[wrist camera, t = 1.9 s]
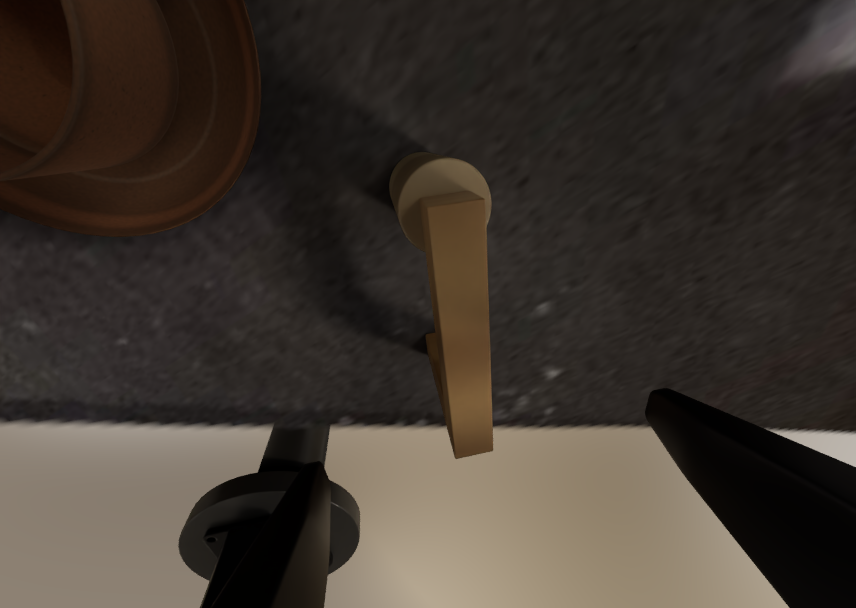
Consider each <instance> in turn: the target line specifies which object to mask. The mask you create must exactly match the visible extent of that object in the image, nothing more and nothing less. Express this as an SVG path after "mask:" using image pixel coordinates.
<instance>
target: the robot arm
mask: <svg viewBox="0 0 856 608" xmlns="http://www.w3.org/2000/svg"><path fill="white" fill-rule="evenodd" d="M645 416H646V419H647V421H648V422H649V424H650V425H651V427H652V428H653V430H654V431H655V433H656V434H657V436H658V437H659V439H660V440H661V442H662V443H663V445H664V446H665V448H666V449H667V451H668V452H669V454H670V455H671V457H672V458H673V460H674V461H675V463H676V464H677V466H678V467H679V469H680V470H681V472H682V473H683V474H684V475H685V477H686V478H687V480H688V481H689V482H690V483H691V485H692V486H693V487H694V488H695V490H696V491H697V492H698V494H699V495H700V496H701V497H702V499H703V500H704V501H705V502H706V503H707V505H708V506H709V507H710V508H711V510H712V511H713V512H714V514H715V515H716V516H717V517H718V519H719V520H720V521H721V522H722V524H723V525H724V526H725V527H726V529H727V530H728V531H729V532H730V534H731V535H732V536H733V537H734V539H735V540H736V541H737V542H738V544H739V545H740V546H741V547H742V549H743V550H744V551H745V552H746V554H747V555H748V556H749V557H750V559H751V560H752V561H753V562H754V564H755V565H756V566H757V568H758V569H759V570H760V571H761V573H762V574H763V575H764V576H765V578H766V579H767V580H768V581H769V583H770V584H771V585H772V586H773V588H774V589H775V590H776V591H777V592H778V594H779V595H780V596H781V598H782V599H783V600H784V601H785V602H786V604H787V605H788V606H789V608H856V467H853V466H851V465H849V464H846V463H844V462H842V461H839V460H837V459H835V458H832V457H830V456H827V455H825V454H823V453H820V452H818V451H815V450H813V449H811V448H809V447H806V446H804V445H802V444H799V443H797V442H794V441H792V440H790V439H787V438H785V437H783V436H780V435H778V434H775V433H773V432H771V431H768V430H766V429H764V428H761V427H759V426H757V425H754V424H752V423H749V422H747V421H745V420H742V419H740V418H738V417H735V416H733V415H730V414H728V413H726V412H723V411H721V410H719V409H716V408H714V407H711V406H709V405H707V404H704V403H702V402H700V401H697V400H695V399H693V398H690V397H688V396H685V395H683V394H681V393H678V392H676V391H674V390H671V389H668V388H663V389H658V390H654V391H652V392H651V393H650V395H649V399H648V402H647V406H646V410H645ZM330 502H331V487H330V481H329V479H328V476H327V474H326V471H325V469H324V466H323V464H322V463H321V462H320V461H317V462H313V463H308V464H305V465H304V466H303V467H302V468H301V470H300V471H299V473H298V474H297V476H296V477H295V479H294V480H293V482H292V483H291V485H290V486H289V488H288V490H287V491H286V493H285V494H284V496H283V497H282V499H281V500H280V502H279V503H278V505H277V506H276V508H275V509H274V511H273V513H272V514H271V515H269V516H265V517H260V518H256V519H251V520H247V521H242V522H238V523H233V524H229V525H224V526H220V527H215V528H211V529H208V530H207V531H206V532H205V535H204V537H203V542H204V544H205V545H206V546H207V547H208V548H209V550H210V551H211V552H212V553H213V555H214V556H215V557H216V558H217V563H216V565H215V568H214V571H213V574H212V576H211V579H210V582H209V584H208V588H207V590H206V593H205V595H204V598H203V601H202V604H201V606H200V608H324V602H325V593H326V584H327V576H328V567H330V566H331V565H332V564H333V555H332V553H331V551H330Z"/></svg>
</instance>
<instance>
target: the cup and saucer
mask: <svg viewBox="0 0 856 608" xmlns="http://www.w3.org/2000/svg"><path fill="white" fill-rule="evenodd" d="M260 110H261V74H260V66H259V58H258V51H257V47H256V42H255V37H254V33H253V29H252V25H251V22H250V18H249V15H248V11H247V8H246V5H245V2H244V0H0V209H1V210H4V211H6V212H9V213H11V214H14V215H16V216H19V217H21V218H24V219H27V220H30V221H33V222H36V223H39V224H42V225H45V226H49V227H53V228H56V229H60V230H64V231H69V232H75V233H80V234H87V235H96V236H111V237H126V236H140V235H146V234H153V233H157V232H161V231H165V230H169V229H172V228H175V227H177V226H180V225H183V224H185V223H187V222H189V221H191V220H193V219H195V218H197V217H198V216H200V215H201V214H203V213H204V212H206V211H207V210H209V209H210V208H211V207H213V206H214V205H215V204H216V203H217V202H218V201H220V200H221V199H222V198H223V197H224V195H225V194H226V193H227V192H228V191H229V190H230V189H231V188H232V186H233V185H234V183H235V182H236V180H237V179H238V177H239V176H240V174H241V173H242V171H243V169H244V167H245V165H246V163H247V161H248V159H249V156H250V154H251V151H252V148H253V146H254V142H255V138H256V134H257V131H258V125H259V118H260Z"/></svg>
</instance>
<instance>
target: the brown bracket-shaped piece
mask: <svg viewBox="0 0 856 608" xmlns="http://www.w3.org/2000/svg"><path fill="white" fill-rule="evenodd" d="M389 190H390V196H391V199H392V202H393V205H394V208H395V211H396V214H397V217H398V220H399V223H400V226H401V228H402V230H403V232H404V234H405V236H406V237H407V239H408V240H409V241H410V242H411V243H412V244H413V245H414V246H415V247H417V248H418V249H420V250H421V251H424V252H426V259H427V267H428V276H429V284H430V292H431V300H432V308H433V316H434V324H435V332H436V333H430V334H426V344H427V351H428V357H429V361H430V364H431V368H432V372H433V376H434V380H435V384H436V387H437V391H438V395H439V399H440V403H441V406H442V410H443V414H444V418H445V422H446V425H447V429H448V433H449V437H450V441H451V445H452V448H453V452H454V456H455V458H456V459H458V458H462V457H467V456H472V455H476V454H481V453H486V452H490V451H493V428H492V395H491V363H490V331H489V298H488V266H487V233H486V226H487V224H488V221H489V218H490V213H491V195H490V191H489V188H488V185H487V183H486V181H485V179H484V178H483V176H482V175H481V173H480V172H479V171H478V170H477V169H476V168H474V167H473V166H472V165H470V164H469V163H467V162H465V161H462V160H459V159H455V158H451V157H446V156H441V155H437V154H432V153H428V152H417V153H413V154H410V155H408V156H406V157H404V158H403V159H402V160H401V161H400V162H399V163H398V164H397V165H396V166H395V168H394V170H393V172H392V174H391V178H390V183H389Z"/></svg>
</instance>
